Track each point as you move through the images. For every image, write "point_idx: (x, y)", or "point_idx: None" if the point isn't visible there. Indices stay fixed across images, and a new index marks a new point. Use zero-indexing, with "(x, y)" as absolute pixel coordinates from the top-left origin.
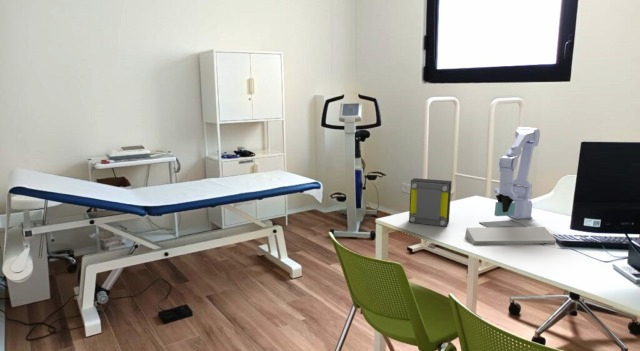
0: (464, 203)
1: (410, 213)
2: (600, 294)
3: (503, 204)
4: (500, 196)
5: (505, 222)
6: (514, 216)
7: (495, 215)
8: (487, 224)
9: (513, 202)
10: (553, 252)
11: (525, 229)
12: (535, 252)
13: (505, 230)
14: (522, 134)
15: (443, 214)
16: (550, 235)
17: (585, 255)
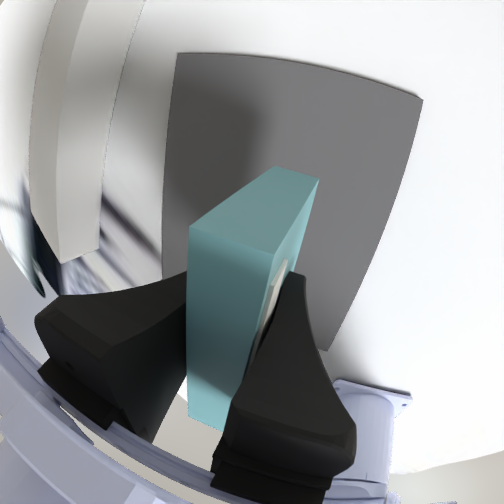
0: None
1: None
2: None
3: (170, 287)
4: (229, 437)
5: (317, 279)
6: (354, 394)
7: (298, 172)
8: (346, 108)
9: (191, 409)
10: (10, 137)
11: (49, 157)
12: (15, 83)
13: (65, 41)
14: None
15: None
16: (38, 222)
17: (4, 200)
